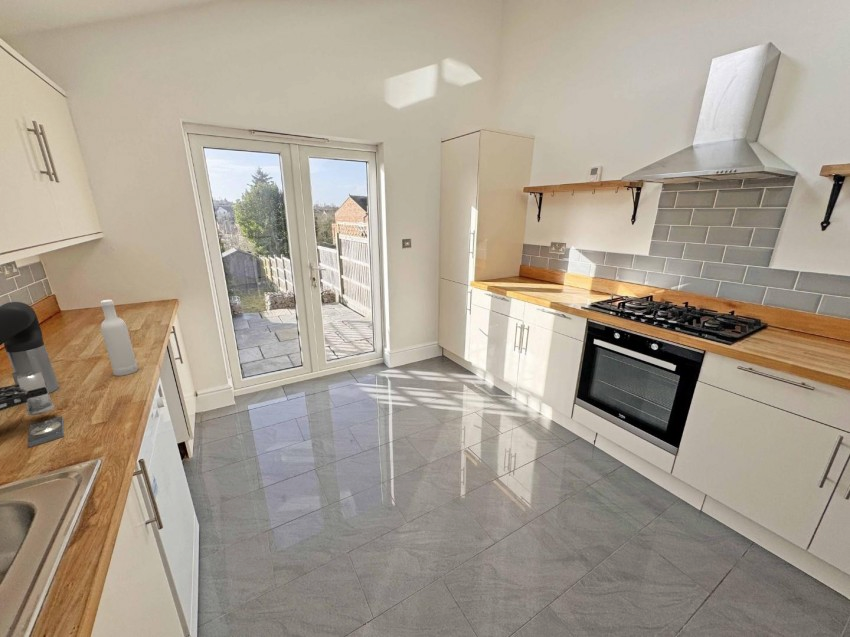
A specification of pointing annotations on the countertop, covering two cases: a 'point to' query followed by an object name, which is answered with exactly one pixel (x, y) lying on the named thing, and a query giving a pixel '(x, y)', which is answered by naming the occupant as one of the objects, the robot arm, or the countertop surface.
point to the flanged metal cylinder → (40, 402)
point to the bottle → (117, 341)
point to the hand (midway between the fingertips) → (46, 387)
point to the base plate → (46, 431)
